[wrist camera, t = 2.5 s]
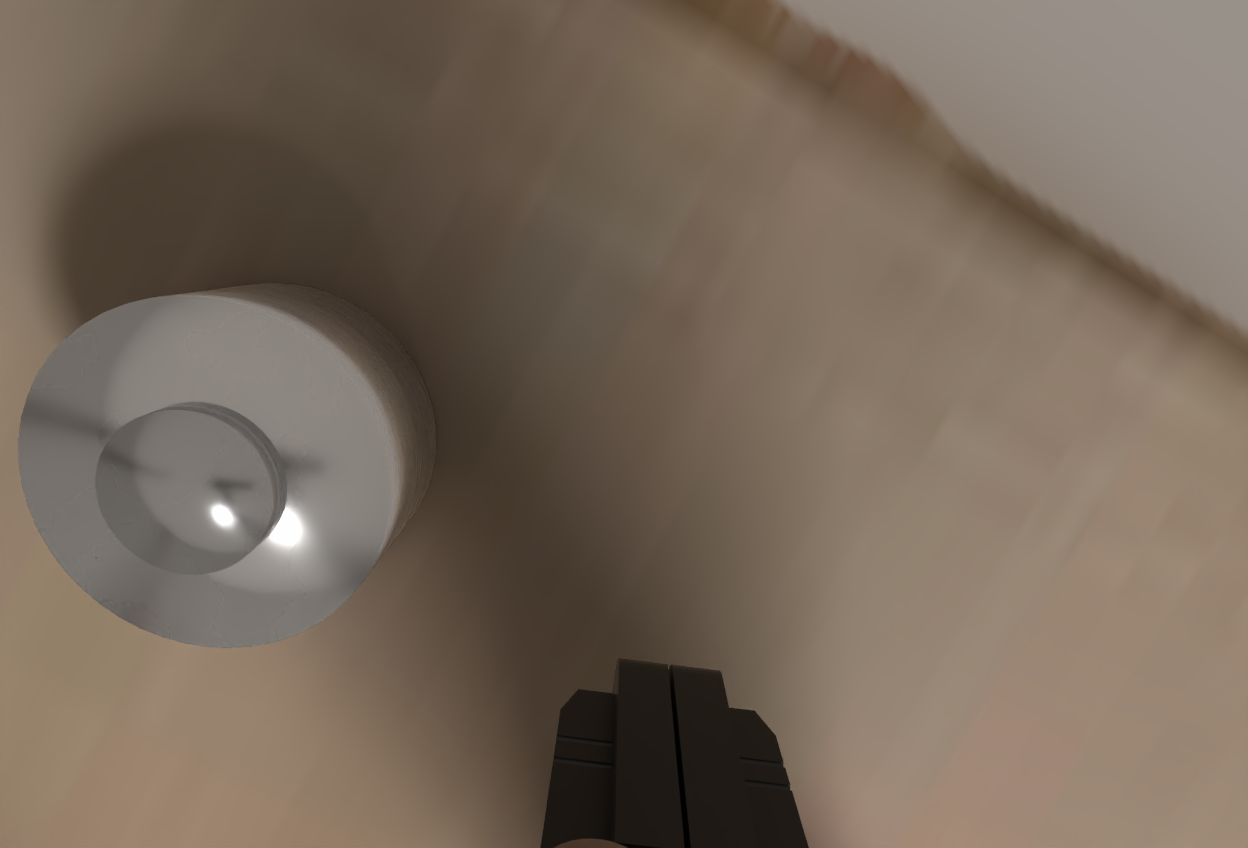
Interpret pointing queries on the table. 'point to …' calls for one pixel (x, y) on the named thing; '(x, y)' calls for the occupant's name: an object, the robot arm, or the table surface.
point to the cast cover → (226, 458)
